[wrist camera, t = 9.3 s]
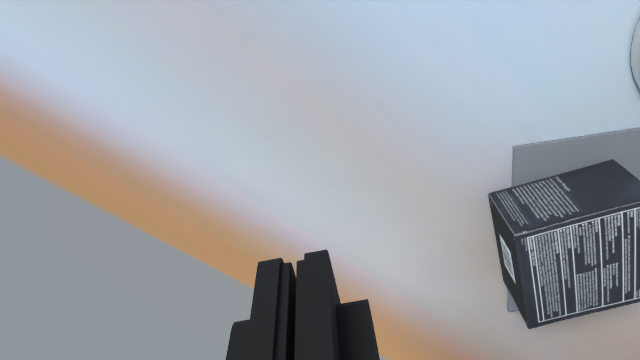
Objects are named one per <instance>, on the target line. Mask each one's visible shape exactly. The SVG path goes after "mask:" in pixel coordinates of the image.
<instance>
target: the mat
mask: <svg viewBox="0 0 640 360" xmlns="http://www.w3.org/2000/svg"><path fill="white" fill-rule="evenodd" d="M611 159H614V160H615V161H616V162H618V163H619V164H621V165H622V166H623V167H624V168H626V169H627V170H628V171H629V172H630V173H632V174H633V175H634V176H635V177H637V178H638V179H639V180H640V128H634V129H627V130H620V131H614V132H607V133H600V134H593V135H586V136H580V137H573V138H566V139H559V140H552V141H546V142H539V143H532V144H525V145H518V146H513V163H512V187H514V186H518V185H522V184H525V183H529V182H532V181H536V180H540V179H543V178H547V177H551V176H554V175H558V174H562V173H565V172H569V171H572V170H576V169H580V168H583V167H587V166H590V165H594V164H597V163H601V162H604V161H608V160H611ZM507 309H508V311H509V312H514V311H519V309H518V307H517V305H516V303H515V301H514V300H513V298H512V296H511V294H510V292H509V290H508V307H507Z"/></svg>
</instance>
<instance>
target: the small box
mask: <svg viewBox="0 0 640 360" xmlns="http://www.w3.org/2000/svg"><path fill="white" fill-rule="evenodd" d="M488 196H489V202H490V207H491V213H492V218H493V223H494V229H495V235H496V240H497V246H498V251H499V257H500V263H501V269H502V275H503V280H504V282H505V284H506V286H507V288H508V290H509V292H510V294H511V296H512V298H513V300H514V301H515V303H516V305H517V307H518V309H519V311H520V313H521V315H522V317H523V319H524V320H525V322H526V324H527V327H528V328H529V329H531V328H535V327H539V326H542V325H546V324H550V323H553V322H558V321H561V320H565V319H570V318H573V317H578V316H582V315H586V314H590V313H594V312H599V311H603V310H608V309H611V308H616V307H620V306H624V305H629V304H632V303H637V302H640V180H639V179H638V178H637V177H635V176H634V175H633V174H632V173H630V172H629V171H628V170H627V169H626V168H624V167H623V166H622V165H621V164H619V163H618V162H616V161H615V160H614V159H611V160H608V161H604V162H601V163H597V164H594V165H590V166H587V167H583V168H580V169H576V170H572V171H569V172H565V173H562V174H558V175H554V176H551V177H547V178H543V179H540V180H536V181H532V182H529V183H525V184H522V185H518V186H514V187H511V188H507V189H503V190H500V191H496V192H492V193H488Z"/></svg>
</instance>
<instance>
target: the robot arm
mask: <svg viewBox="0 0 640 360" xmlns="http://www.w3.org/2000/svg"><path fill="white" fill-rule="evenodd" d="M631 67H632V71H633V76H634V79H635V81H636V83H637V85H638V87H639V89H640V18H639V21H638V24H637V26H636V29H635V32H634V36H633V41H632V46H631ZM226 360H380V359H379V353H378V348H377V342H376V337H375V332H374V326H373V321H372V316H371V311H370V306H369V302H368V299H366V300H361V301H355V302H349V303H343V304H341V303H340V299H339V295H338V291H337V286H336V282H335V278H334V274H333V270H332V266H331V262H330V257H329V253H328V250H322V251H316V252H311V253H305V256H304V260H300V261H297V275H296V276H295V273H294V269H293V266H292V264H291V262H289V263H284V262H283V260H282V258H277V259H272V260H266V261H261V262H259V263H258V266H257V273H256V280H255V287H254V295H253V302H252V309H251V316H250V320H244V321H239V322H235V323H234V324H233V326H232V330H231V334H230V340H229V345H228V351H227V356H226Z"/></svg>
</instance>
